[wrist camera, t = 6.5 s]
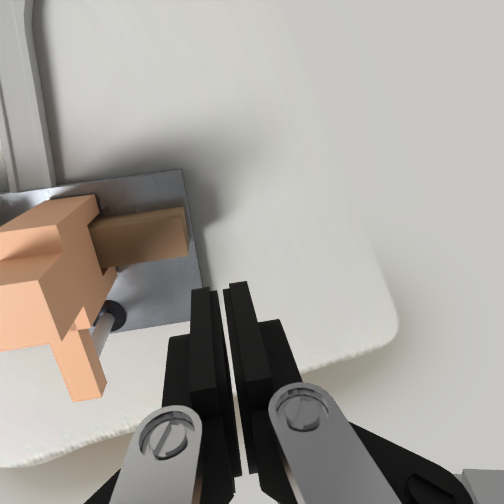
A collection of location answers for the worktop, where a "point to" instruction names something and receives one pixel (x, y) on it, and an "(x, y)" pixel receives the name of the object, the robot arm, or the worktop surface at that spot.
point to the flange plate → (140, 274)
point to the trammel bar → (140, 237)
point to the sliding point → (56, 290)
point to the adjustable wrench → (22, 102)
